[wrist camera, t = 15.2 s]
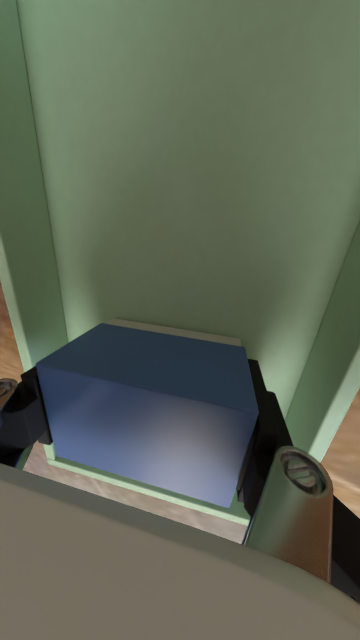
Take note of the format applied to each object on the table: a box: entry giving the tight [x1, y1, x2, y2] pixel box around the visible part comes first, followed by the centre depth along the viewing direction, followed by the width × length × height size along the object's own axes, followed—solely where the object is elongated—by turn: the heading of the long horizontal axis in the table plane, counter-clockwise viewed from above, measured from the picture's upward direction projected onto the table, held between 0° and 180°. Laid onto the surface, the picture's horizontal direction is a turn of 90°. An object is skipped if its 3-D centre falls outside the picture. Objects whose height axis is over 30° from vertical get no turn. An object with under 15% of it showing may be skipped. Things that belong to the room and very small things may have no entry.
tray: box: [0, 0, 360, 526], centre depth 8 cm, size 23×14×3 cm, turn 175°
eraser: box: [36, 318, 259, 508], centre depth 8 cm, size 4×7×5 cm, turn 85°
